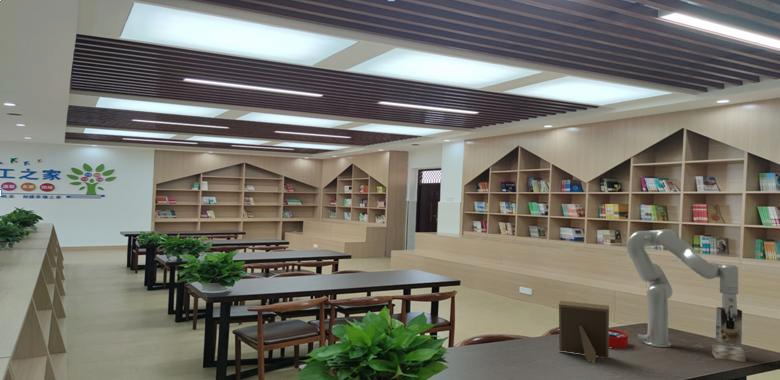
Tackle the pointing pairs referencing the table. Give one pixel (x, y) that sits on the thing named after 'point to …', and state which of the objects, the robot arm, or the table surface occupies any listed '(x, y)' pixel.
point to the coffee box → (728, 334)
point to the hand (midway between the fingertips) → (728, 326)
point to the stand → (728, 353)
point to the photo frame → (584, 329)
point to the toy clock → (617, 339)
